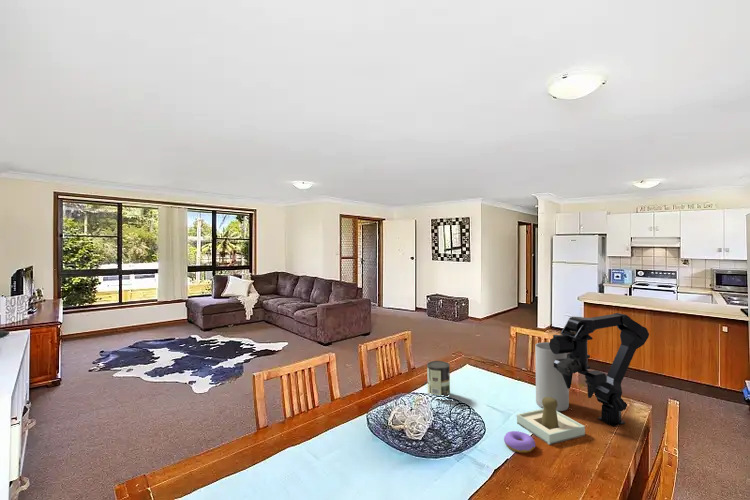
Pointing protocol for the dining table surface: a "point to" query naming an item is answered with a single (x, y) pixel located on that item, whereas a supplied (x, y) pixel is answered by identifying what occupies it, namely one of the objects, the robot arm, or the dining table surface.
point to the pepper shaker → (549, 413)
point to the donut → (519, 441)
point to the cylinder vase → (550, 377)
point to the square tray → (563, 433)
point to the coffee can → (438, 378)
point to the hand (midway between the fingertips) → (578, 392)
